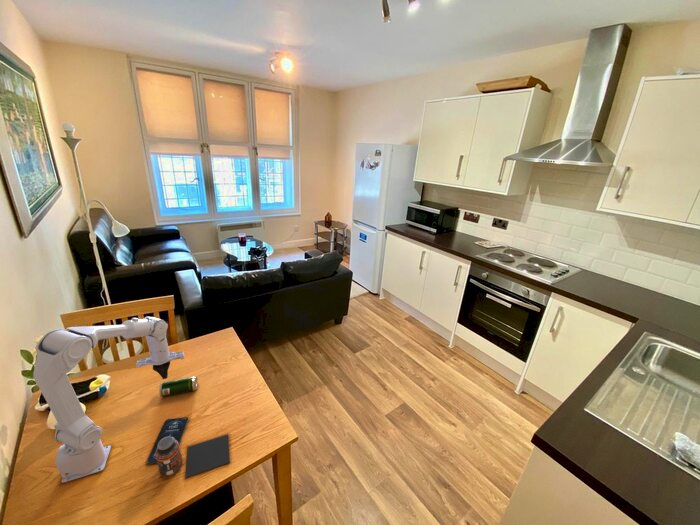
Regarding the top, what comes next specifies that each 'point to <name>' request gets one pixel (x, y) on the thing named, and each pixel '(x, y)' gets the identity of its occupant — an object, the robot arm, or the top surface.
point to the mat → (207, 455)
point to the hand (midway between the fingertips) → (165, 376)
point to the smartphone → (169, 434)
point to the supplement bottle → (168, 456)
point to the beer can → (178, 386)
